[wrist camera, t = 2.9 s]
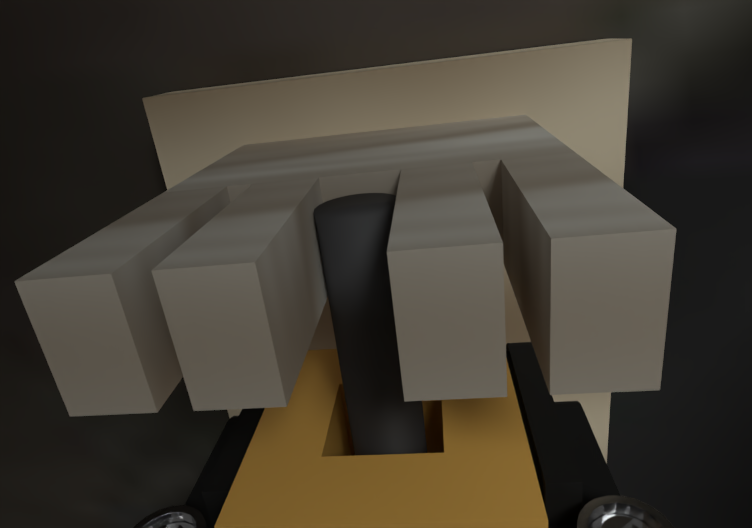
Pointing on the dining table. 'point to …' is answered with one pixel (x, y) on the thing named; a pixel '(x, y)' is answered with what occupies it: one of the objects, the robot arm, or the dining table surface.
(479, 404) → the sleeve
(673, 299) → the dining table surface
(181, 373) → the cord rig
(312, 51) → the dining table surface
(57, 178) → the dining table surface
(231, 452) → the robot arm
